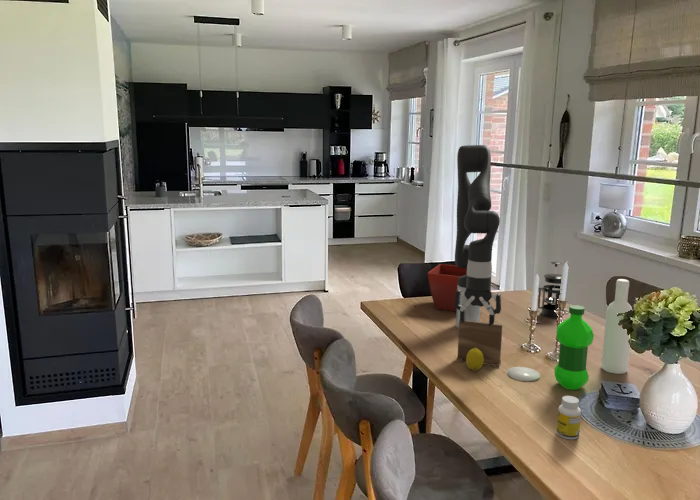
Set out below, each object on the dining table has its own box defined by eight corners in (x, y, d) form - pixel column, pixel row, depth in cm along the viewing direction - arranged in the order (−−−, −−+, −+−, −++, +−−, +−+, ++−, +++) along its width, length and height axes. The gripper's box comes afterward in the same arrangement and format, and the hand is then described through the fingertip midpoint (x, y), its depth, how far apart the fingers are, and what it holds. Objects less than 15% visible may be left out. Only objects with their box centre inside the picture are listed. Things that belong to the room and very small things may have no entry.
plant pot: (469, 316, 240) (471, 277, 236) (425, 310, 248) (426, 272, 244) (479, 304, 257) (481, 267, 253) (438, 299, 265) (439, 263, 261)
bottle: (616, 375, 180) (625, 284, 174) (595, 367, 187) (603, 278, 181) (632, 371, 184) (642, 281, 178) (611, 362, 191) (620, 276, 185)
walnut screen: (459, 356, 196) (460, 317, 193) (500, 362, 190) (503, 322, 188) (456, 361, 191) (457, 322, 188) (498, 368, 186) (501, 327, 183)
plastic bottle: (571, 376, 179) (577, 300, 174) (596, 390, 170) (603, 310, 165) (545, 381, 176) (551, 304, 171) (569, 395, 166) (576, 314, 161)
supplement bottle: (552, 429, 147) (555, 394, 145) (572, 428, 148) (576, 393, 146) (562, 440, 142) (565, 404, 140) (583, 439, 142) (586, 403, 140)
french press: (560, 311, 246) (564, 259, 242) (569, 318, 237) (573, 264, 233) (533, 311, 246) (537, 259, 242) (541, 318, 237) (545, 264, 232)
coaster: (509, 366, 187) (509, 365, 187) (541, 371, 183) (541, 369, 183) (505, 378, 178) (505, 376, 178) (538, 383, 174) (538, 381, 174)
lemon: (483, 375, 180) (484, 351, 179) (465, 373, 181) (466, 350, 180) (482, 368, 186) (484, 345, 184) (465, 367, 187) (466, 344, 185)
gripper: (504, 273, 178) (501, 322, 181) (458, 269, 183) (456, 317, 186) (500, 279, 171) (498, 330, 174) (454, 274, 176) (452, 324, 180)
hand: (476, 323), depth 180 cm, fingers open, 8 cm apart
